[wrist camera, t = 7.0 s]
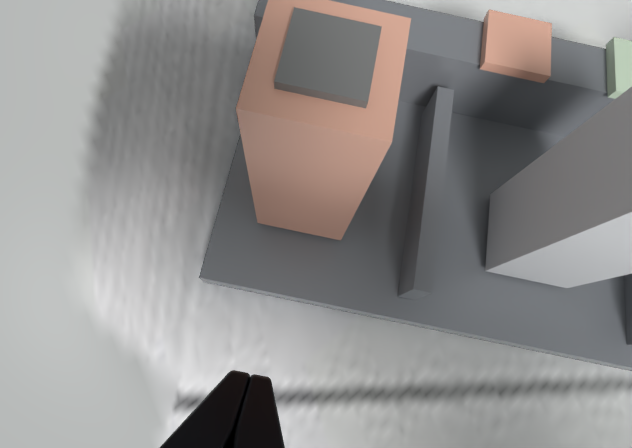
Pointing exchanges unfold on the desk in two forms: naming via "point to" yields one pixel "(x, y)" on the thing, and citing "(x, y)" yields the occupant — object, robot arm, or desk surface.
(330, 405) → the desk surface
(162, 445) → the robot arm
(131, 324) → the desk surface
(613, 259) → the grey block
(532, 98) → the block sorting stand
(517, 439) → the desk surface
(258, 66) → the peach tall block
